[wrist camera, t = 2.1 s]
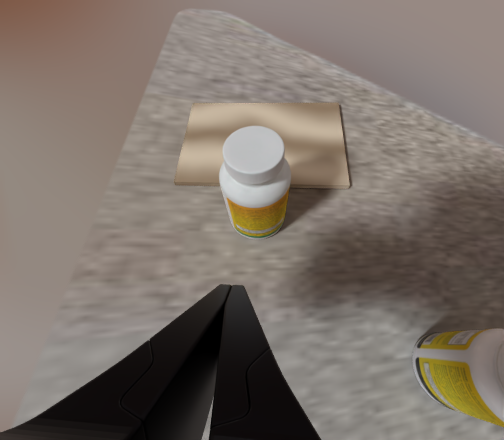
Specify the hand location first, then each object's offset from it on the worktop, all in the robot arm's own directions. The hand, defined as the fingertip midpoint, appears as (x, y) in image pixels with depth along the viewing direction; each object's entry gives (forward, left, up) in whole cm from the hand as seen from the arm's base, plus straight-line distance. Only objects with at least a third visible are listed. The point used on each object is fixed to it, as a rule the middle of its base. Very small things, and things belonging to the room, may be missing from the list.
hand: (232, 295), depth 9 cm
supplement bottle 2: (-1, -14, -13) cm, 19 cm away
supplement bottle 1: (+10, +1, -13) cm, 16 cm away
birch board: (+19, +1, -13) cm, 23 cm away
